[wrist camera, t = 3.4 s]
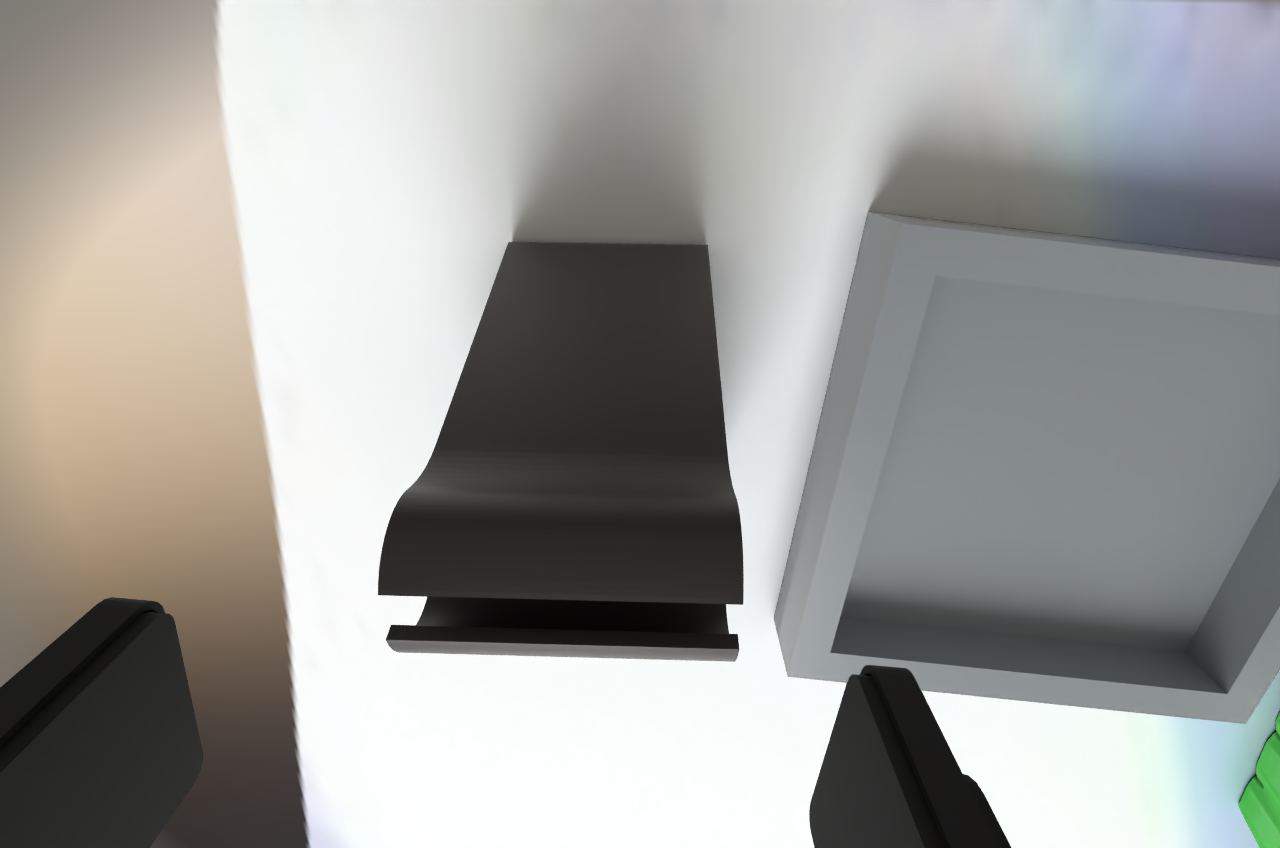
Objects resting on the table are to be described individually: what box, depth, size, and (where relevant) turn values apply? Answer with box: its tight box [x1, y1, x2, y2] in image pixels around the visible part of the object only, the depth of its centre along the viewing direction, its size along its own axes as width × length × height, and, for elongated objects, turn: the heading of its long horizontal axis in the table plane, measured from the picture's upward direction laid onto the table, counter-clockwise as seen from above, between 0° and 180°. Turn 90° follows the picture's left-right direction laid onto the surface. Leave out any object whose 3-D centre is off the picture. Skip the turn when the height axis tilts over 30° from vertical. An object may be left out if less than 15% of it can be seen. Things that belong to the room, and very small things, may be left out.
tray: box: [774, 212, 1280, 724], centre depth 21 cm, size 16×15×3 cm
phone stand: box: [378, 242, 743, 661], centre depth 17 cm, size 9×6×12 cm, turn 179°
